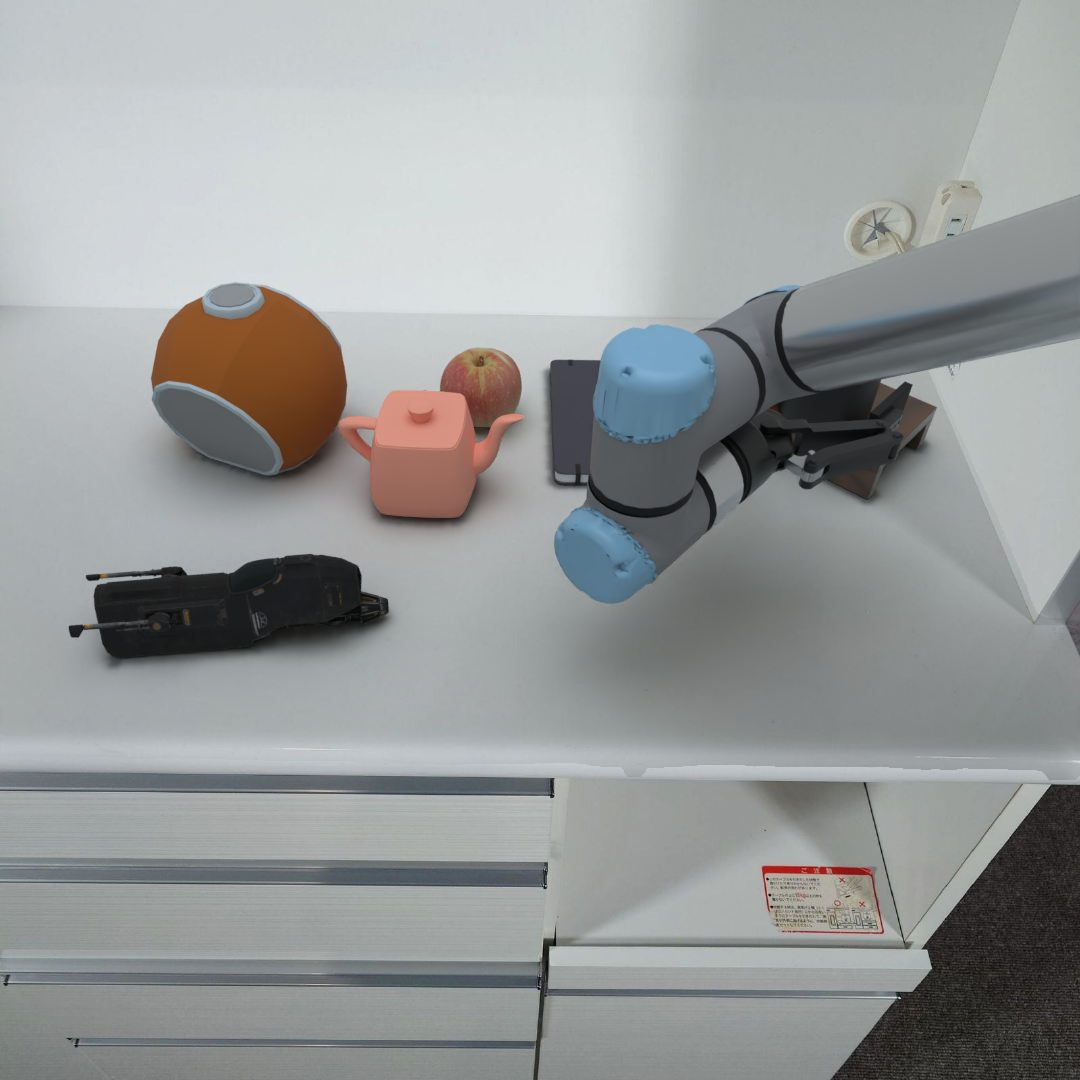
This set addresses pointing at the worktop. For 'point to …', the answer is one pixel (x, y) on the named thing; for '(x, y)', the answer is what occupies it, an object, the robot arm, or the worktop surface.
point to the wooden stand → (910, 426)
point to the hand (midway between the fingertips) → (837, 366)
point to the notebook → (572, 418)
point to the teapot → (424, 452)
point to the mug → (833, 404)
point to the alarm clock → (250, 378)
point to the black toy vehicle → (227, 604)
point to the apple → (484, 383)
